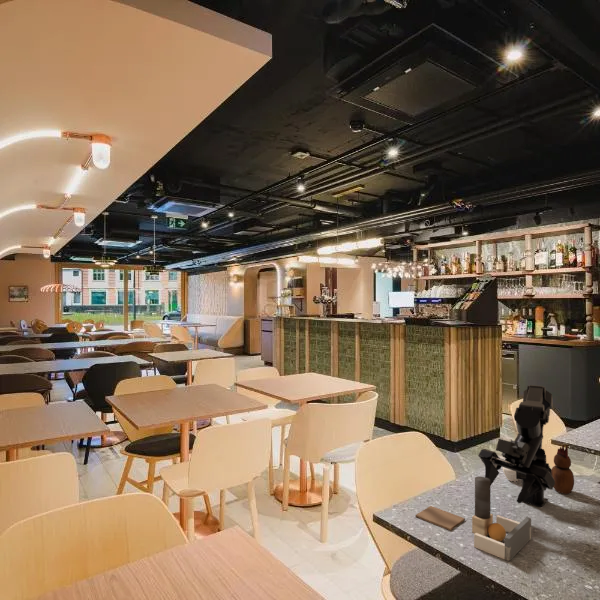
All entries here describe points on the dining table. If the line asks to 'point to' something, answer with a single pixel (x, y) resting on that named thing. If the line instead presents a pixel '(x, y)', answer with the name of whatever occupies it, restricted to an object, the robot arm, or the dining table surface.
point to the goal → (506, 538)
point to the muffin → (510, 474)
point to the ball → (497, 532)
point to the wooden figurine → (562, 471)
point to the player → (482, 507)
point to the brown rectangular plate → (440, 518)
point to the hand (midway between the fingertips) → (501, 495)
